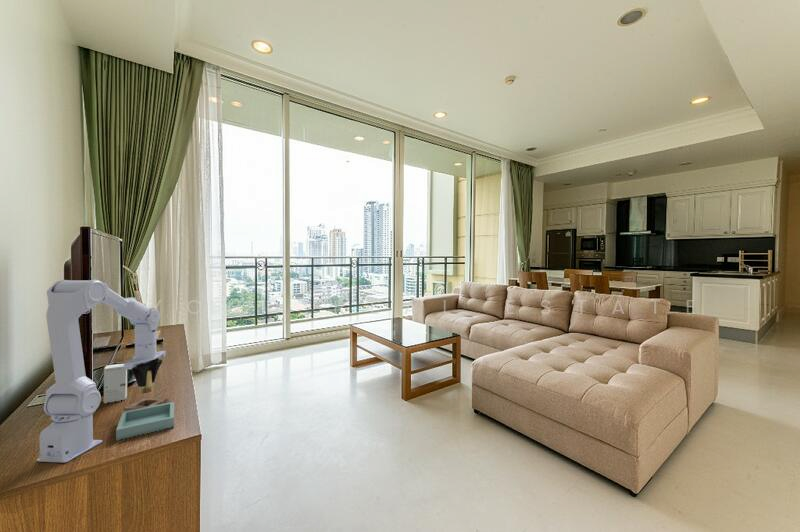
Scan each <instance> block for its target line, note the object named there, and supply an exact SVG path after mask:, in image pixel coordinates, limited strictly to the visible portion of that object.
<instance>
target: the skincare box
mask: <svg viewBox="0 0 800 532" xmlns="http://www.w3.org/2000/svg"><path fill="white" fill-rule="evenodd" d="M127 397H128V370H125V369H124V363H116V364H110V365H109V364H108V365H105V366H104V369H103V404H108V402H109V403H115V401H116V402H121V400H122V401H125V400H126V399H127Z"/></svg>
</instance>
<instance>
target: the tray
mask: <svg viewBox="0 0 800 532" xmlns="http://www.w3.org/2000/svg"><path fill="white" fill-rule="evenodd" d="M171 427H175V402H174V401H171V402H168V403H166V404H161V405H156V406H150V407H145V408H140V409H135V410H130V411H125V412H124V411H122V412H121V416H120V417H119V421H118V424H117V426H116V430H115V436H116V438H115V439H116V442H118V441H122V440H121V439H123V440H126V439H125V438H127V439H129V438H128V437H131V438H134V437H133V436H136V437H138V436H137V435H140V436H143V435H142V434H144V435H147V433H149V434H152V433H151V432H153V433H156V432H155V431H157V432H160V431H159V430H161V431H164V430H163V429H166V428H170V429H172V428H171ZM166 430H167V429H166Z"/></svg>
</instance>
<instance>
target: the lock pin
mask: <svg viewBox="0 0 800 532" xmlns="http://www.w3.org/2000/svg"><path fill="white" fill-rule="evenodd" d="M152 391H153V383H152V369H148V372H147V381H146V386H144V387H140V393H141V394H149V393H151V392H152Z"/></svg>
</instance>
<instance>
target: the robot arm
mask: <svg viewBox="0 0 800 532" xmlns="http://www.w3.org/2000/svg"><path fill="white" fill-rule="evenodd" d="M46 297H47V301H48V302H47V304H48V307H47V310H46V324H47V330H48V337H49V339H48V340H49V344H50V353H51V358H52V366H53V371H54V373H53V374H54V379H55V383H53V384H52V385H51V386H50V387H49V388H47V389H46V390H45V401H44V403H43V411H44V413H45V414H46V415H48V416H50V420H52V422H51V424H49V425H48V426H47V427H45V428H43V429H42V430H41V432H40V434H39V438H38V439H39V440H38V441H39V444H38V445H39V457H38V458H37V459H36V461H37V462H41V463H42V462H43V463H44V462H47V463H63V464H64V463H68V462H70V461H72V460H74V458H76V457H77V458H78V457H79V456H80V455H82V454H84V453H86V452H88V451H89V450H91V449H93V448H95V447H96V446H98V445H100V444H101V443H103V440H102V439H94V431H93V429H94V425H93V424H94V423H93V422H94V421H93V419H94V417H93V414H94V413H95V412H96V410H97V409H98V408H99V406H100V404H101V402H102V401H101V400H102V396H101V393H100V391H99V390H98V389H97V383H96V382H95V381H93V380H92V379H91V378H89V377H87V375H86V367H85V360H84V353H83V345H82V338H81V332H80V331H81V330H80V323H79V322H80V321H79V318H80V317H81V316H82V315H83V314H85V313H87V312H88V311H90V310H91V309H93V308H94V307H96V306H97V305H98V304H100V303H102V304H104V305H106V306H108V307H112V308H114V310H115V313H116V314H117V315H119V316H121V317H123V318H125V319H127V320H129V323H130V324H131V325H134V356H133V357H132V359H130V360H128V361H127V362H124V363H123V364H124V369H125V370H127V371H128V370H129V371H130V372H131V373H132V375H133V376H134V379H135V381H136V384H137V386H138V388H139V387H140V388H141V387H144V386H146V381H147V372H148V369H152V384H153V383H155V380H156V377H157V375H158V371H159V369H160V367H161V365H162V363H163V359H160V358H165V357H166V356H167V355H166V354H167V353H166V350H159V351H157V330H158V327H159V322H160V320H161V314H160V311H159V309H157V308H155V307H149V306H147V304H146V303H142V302H140V301H138V299H137V298H136V297H131V296H130V297H123V296H121V295H120V294H118V293H117V292H115V291H114V290H113V289H111V288H109V285H108V284H107V283H105V282H102V280H98V279H91V280H90V279H88V280H87V279H86V280H79V279H78V280H70V279H69V280H68V279H60V280H57V281H56V282H54V283H53V284H52V285H51V286H50V287H49V288H48V289H47V290H46Z"/></svg>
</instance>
